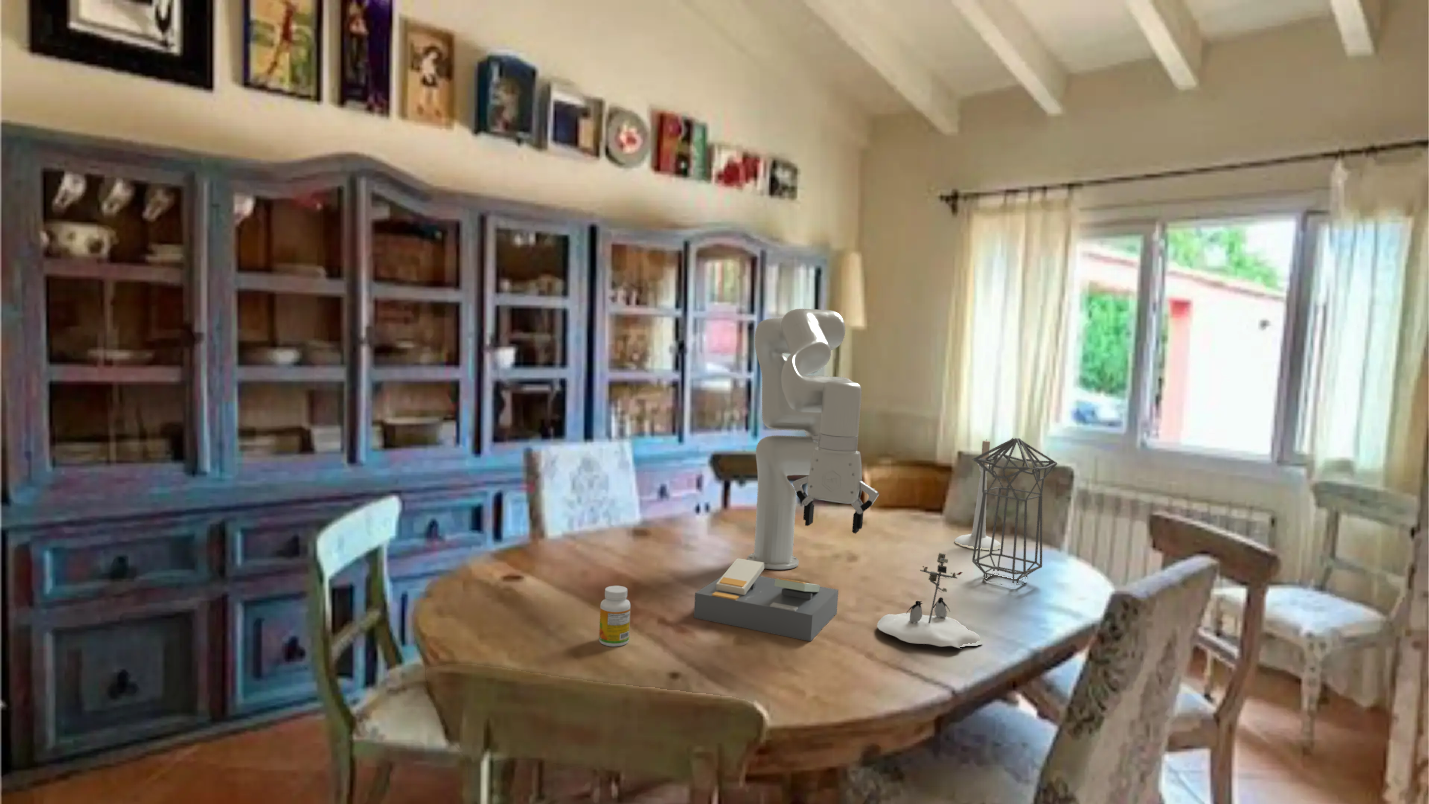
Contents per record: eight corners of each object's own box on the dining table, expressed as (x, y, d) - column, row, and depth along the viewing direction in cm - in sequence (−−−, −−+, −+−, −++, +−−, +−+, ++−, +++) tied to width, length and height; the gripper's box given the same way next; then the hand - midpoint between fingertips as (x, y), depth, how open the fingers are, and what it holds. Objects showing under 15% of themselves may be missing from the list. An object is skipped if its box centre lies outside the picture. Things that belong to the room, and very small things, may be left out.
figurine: (914, 655, 152) (927, 565, 151) (858, 622, 168) (869, 541, 168) (1001, 653, 160) (1013, 568, 159) (939, 622, 176) (950, 545, 176)
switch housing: (729, 593, 184) (730, 565, 183) (836, 613, 174) (838, 584, 174) (693, 617, 167) (695, 587, 167) (810, 641, 158) (812, 609, 157)
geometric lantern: (1049, 584, 203) (1062, 440, 200) (1022, 597, 192) (1035, 444, 189) (987, 569, 214) (999, 432, 211) (958, 580, 203) (969, 435, 200)
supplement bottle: (599, 635, 155) (601, 583, 154) (629, 636, 156) (631, 584, 155) (598, 647, 150) (600, 593, 149) (628, 647, 150) (631, 594, 149)
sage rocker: (790, 587, 174) (791, 579, 174) (819, 592, 172) (820, 584, 172) (774, 585, 164) (775, 577, 164) (804, 591, 162) (805, 582, 162)
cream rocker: (737, 564, 178) (737, 557, 178) (764, 568, 176) (764, 561, 176) (716, 589, 169) (716, 582, 168) (744, 595, 167) (744, 587, 166)
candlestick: (1006, 544, 241) (1015, 440, 238) (995, 553, 230) (1004, 444, 227) (961, 536, 248) (969, 435, 245) (948, 545, 237) (956, 438, 234)
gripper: (790, 440, 167) (784, 525, 169) (877, 451, 161) (870, 539, 162) (802, 436, 174) (796, 517, 176) (886, 446, 167) (879, 530, 169)
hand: (832, 528), depth 169 cm, fingers open, 9 cm apart
